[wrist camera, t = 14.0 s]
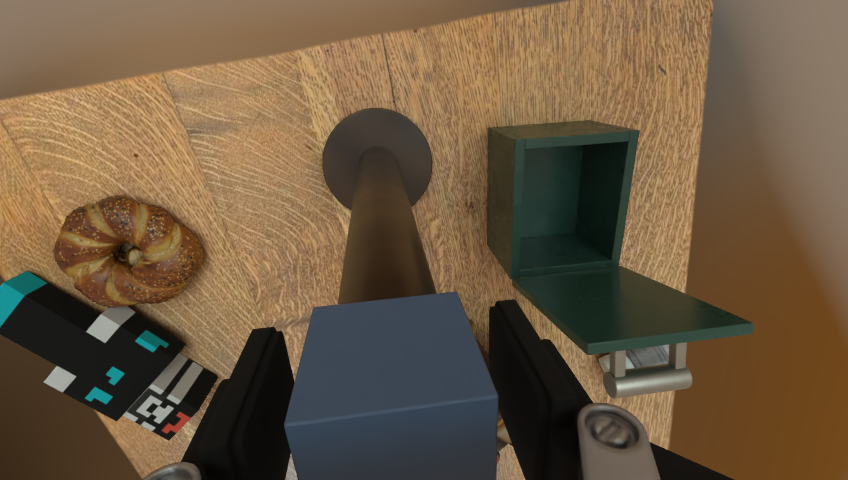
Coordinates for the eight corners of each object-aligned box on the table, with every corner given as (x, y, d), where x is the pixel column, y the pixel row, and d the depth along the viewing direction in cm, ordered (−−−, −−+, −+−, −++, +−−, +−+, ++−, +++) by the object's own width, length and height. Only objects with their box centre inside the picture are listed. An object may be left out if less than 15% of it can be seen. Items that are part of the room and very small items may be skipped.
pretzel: (202, 196, 37) (184, 208, 33) (213, 299, 41) (198, 319, 37) (56, 188, 35) (22, 199, 31) (83, 296, 39) (54, 317, 35)
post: (349, 87, 35) (285, 121, 9) (448, 138, 37) (618, 277, 12) (307, 188, 37) (169, 434, 12) (402, 228, 40) (457, 499, 15)
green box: (487, 127, 37) (515, 139, 30) (589, 120, 38) (639, 130, 31) (486, 244, 42) (510, 279, 35) (577, 235, 43) (618, 267, 36)
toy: (4, 269, 33) (213, 394, 39) (52, 247, 38) (231, 362, 44) (-54, 346, 35) (154, 455, 41) (-1, 316, 39) (178, 418, 45)
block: (312, 306, 11) (281, 425, 7) (457, 290, 11) (499, 395, 7) (333, 415, 12) (317, 560, 9) (460, 398, 13) (495, 530, 9)
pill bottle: (662, 321, 47) (597, 350, 48) (690, 357, 44) (621, 388, 45) (655, 334, 51) (595, 361, 51) (681, 368, 48) (617, 396, 49)
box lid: (587, 344, 22) (586, 422, 23) (754, 323, 23) (747, 399, 24) (511, 277, 34) (513, 330, 35) (621, 265, 35) (620, 317, 36)
